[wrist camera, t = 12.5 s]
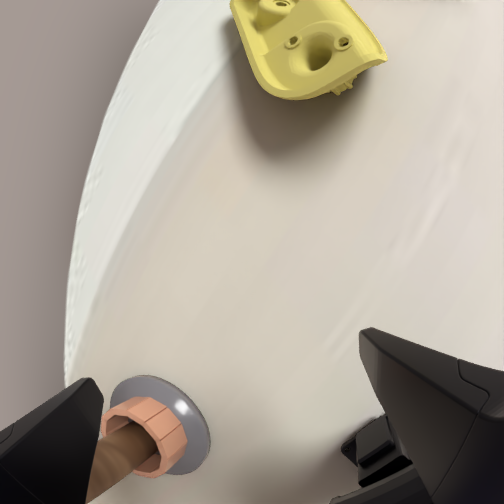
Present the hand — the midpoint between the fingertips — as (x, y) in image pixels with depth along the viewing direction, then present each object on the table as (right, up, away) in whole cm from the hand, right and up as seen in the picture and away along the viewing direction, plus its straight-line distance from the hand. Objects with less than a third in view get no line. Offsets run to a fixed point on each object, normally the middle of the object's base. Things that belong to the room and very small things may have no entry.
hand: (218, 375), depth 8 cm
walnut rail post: (-8, -13, +14) cm, 21 cm away
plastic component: (+6, +24, +14) cm, 28 cm away
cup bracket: (-8, -13, +15) cm, 22 cm away
